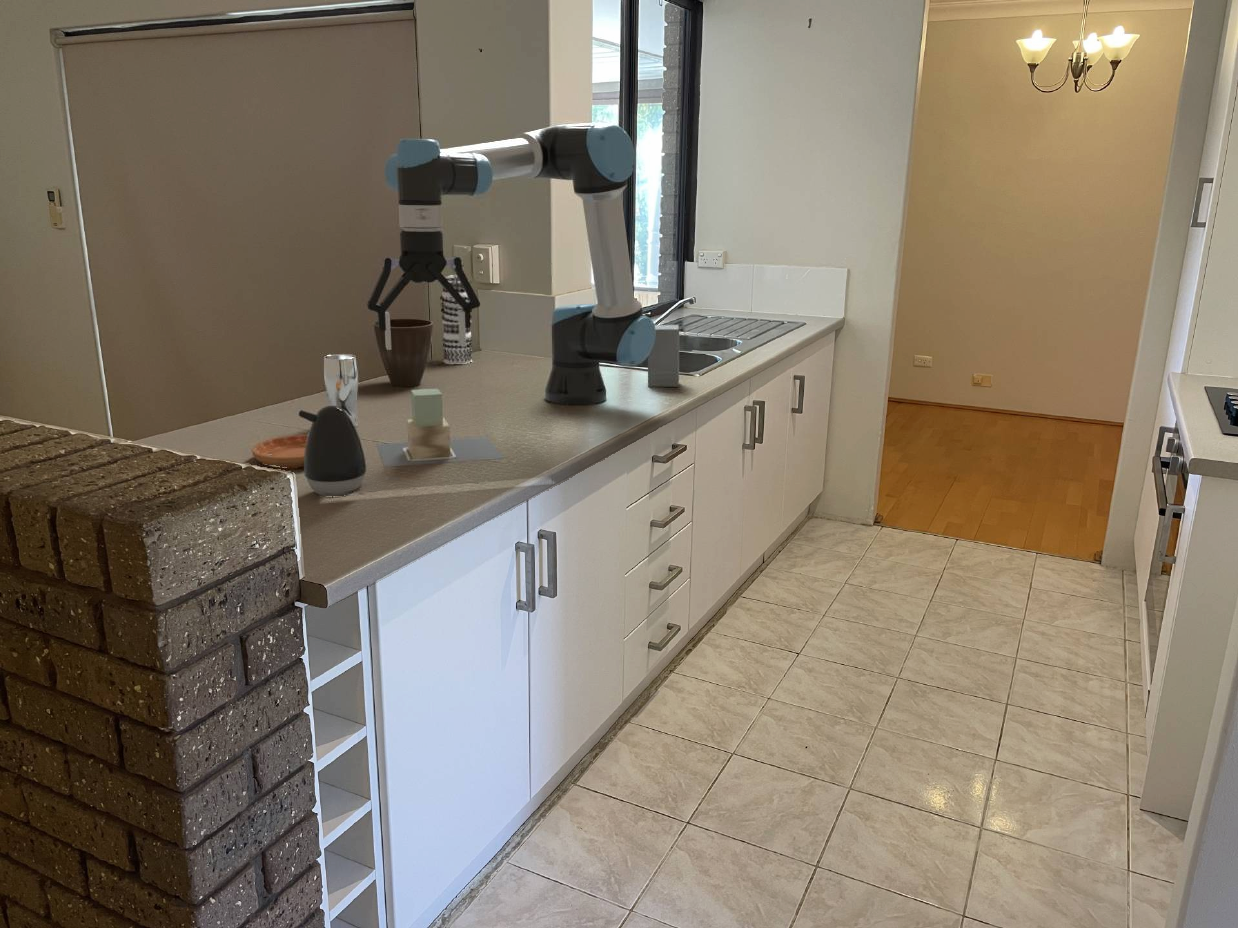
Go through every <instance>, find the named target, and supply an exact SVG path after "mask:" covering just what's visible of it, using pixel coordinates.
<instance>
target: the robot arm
mask: <svg viewBox="0 0 1238 928" xmlns="http://www.w3.org/2000/svg"><path fill="white" fill-rule="evenodd" d="M635 154H636V152H635V147H634V144H633V142H632V139H631V137H630V136H629V134H628V133H627V131H625V130H624V129H623V128H622V127H621V126H619V125H618V124H615V123H614V124H613V123H605V122H588V123H587V122H586V123H572V124H567V123H566V124H565V123H563V124H558V125H553V126H552V125H551V126H547V127H544V128H540V129H535V130H532V131H526V132H519V133H518V134H516V135H515V136H514V137H513V138H510V139H504V140H496V141H490V142H482V143H474V144H469V145H467V144H466V145H460V146H454V147H453V146H452V147H444V148H440V143H439V141H438V140H436V139H429V138H401V139H399V140H398V142H397V143H396V152H395V153H394V154H391V156H389V157H388V158H387V160H386V162H385V165H384V168H383V169H384V170H383V172H384V177H385V181H386V184H387V185H388V186H389V188H390V189H392V191H395V192H397V194H398V198H397V199H398V216H399V217H398V221H399V227H400V228H401V229H402V230H401V231H400V232H399V238H400V239H399V240H400V241H399V243H400V257H399V258H392V257H389V256H385V257H383V259H382V261H383V262H382V270H381V272H380V275H379V277H378V279H377V281H376V283H375V285H374V288H373V290H372V291H371V294H370V297H369V299H368V301H367V303H366V307H367V309H369V310H370V311H372V312H375V313H377V321H378V326H379V329H380V331H385V341H386V348H387V350H391V330H390V319H391V315H390V313H389V311H387V310H388V309H389V308H390V306H391V305H392V303H393V302H394V301H395V300H396V299H397V297H398V296H399V295H400V294H401V293H402V291H403V290H404V289H405V288H406V286H407V285H408V284H409V283H410V282H413V283H415V284H416V283H419V284H420V283H422V282H425V283H433V282H435V281H438V282H439V283H440V285H441V286H442V288H443V287H444V288H445V289H446V290H447V291H448V292H449V294H450V295H451V296H452V297H453V298H454V299H455V300H456V301H457V302H458V304H459V305H460V306H461V307H462V308H463V310H458V318H459V345H460V346H461V347H466V337H465V328H470V329H471V325H472V324H471V323H472V317H470V315H471V313H472V312H471V310H472V311H473V310H474V309H476V308H479V307H480V306H481V302H480V300H479V299H478V296H477V295H476V293H475V291H474V289H473V287H472V285H471V283H470V280H468V277H467V276H466V273H465V271H464V270H463V264H462V259H461V257H459V256H457V255H456V256H453V257H450V258H449V257H447V258H446V257H445V255H444V241H443V240H444V236H443V234H444V233H443V232H442V231H441V230H440V229H441V228H443V214H442V213H443V212H442V196H468V197H469V196H470V197H473V196H479V195H483V194H485V193H486V192H488V191H489V189H490V188H491V186H492V183H493V181H496V180H497V181H498V180H501V179H503V180H504V179H508V178H513V177H514V178H515V177H520V178H522V179H526V180H531V179H532V180H533V179H539V178H540V179H553V180H561V181H562V180H563V181H572V187H573V191H574V194H575V195H576V196H578V197H579V198H581V200H582V207H583V213H584V219H585V227H586V234H587V241H588V246H589V247H588V249H589V253H590V254H589V255H590V261H591V268H592V275H593V283H594V289H595V295H596V302H597V303H583V304H571V305H564V306H558V307H555V308H554V310H553V311H552V316H551V317H552V319H551V357H552V358H551V362H552V363H551V364H552V366H551V370H550V373H549V377H548V378H547V379H548V380H547V382H546V387H545V389H544V398H545V400H546V401H548V402H551V403H555V404H562V405H574V406H575V405H576V406H577V405H582V406H583V405H592V404H597V403H602V402H605V401H606V399H607V388H606V385H605V382H604V378H603V375H602V372H601V367H600V366H601V365H600V362H606V363H611V364H616V365H617V364H618V365H620V366H626V365H627V366H638V365H640V364H642V363H643V362H644V361H646V359H648V355H649V354H650V352H651V349H652V348H653V345H654V341H655V325H656V324H655V323H654V321H653V320H652V319H651V318H650V317H648V316H646V315H644V313H643V305H642V303H641V302H640V301H639V300H638V299H636V298H635V294H634V287H633V279H632V278H633V277H632V271H631V270H632V269H631V262H630V254H629V253H630V252H629V246H628V237H627V231H626V223H625V216H624V215H625V213H624V207H623V197H622V194H623V192H624V190H625V189H626V188H627V186H628V182H627V180H628V178H630V177H631V176H632V173H633V171H634V167H633V166H635V164H636V155H635ZM447 265H448V266H449V268H450V270H452V271H454V273H455V275H457V277H458V279H459V281H460V283H461V285H462V286H463V288H464V290H465V292H466V294H467V296H468V298H469V302H468V303H467V302H466V301H465V300H464V299H463V297H462V296H461V295H460V294H459V293H458V292H457V291H456V290H455V288H454V287H453V286H452V285H451V284H450V283H449V282H448V280H447V279H446V278H445V276H444V275H443V273H442V272H443V271H444V270H445V268H446V266H447ZM397 266H399V267H400V268H401V270H402V271H403V272H404V273H402V274H401V276H400V277H399V279H398V281H397V282H396V283H395V284H394V286H393V287H392V288H391V290H390V291H389V292H388V293H387V295H386V296H385V297H384V298H383V299H382V301H381V302H380V303H379V304H378V302H379V299H380V297H381V295H382V294H383V293H382V292H383V291H384V288H385V286H386V285H387V281H388V279H389V278H390V275H391V272H392V271H394V270H395V269H396V267H397ZM470 312H471V313H470Z"/></svg>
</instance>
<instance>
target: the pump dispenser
mask: <svg viewBox="0 0 1238 928" xmlns="http://www.w3.org/2000/svg"><path fill="white" fill-rule="evenodd" d="M298 416H299V417H300V418H302V419H304V420H306V421H309V422H311V425H310V428H309V431H308V433H307V435H308V436H307V441H306V446H305V453H304V468H303V476H304V477H305V478H306V480H307V483H308V485H309V487H310V488H311V489H312V490H313V491H314V492H315V493H317V494H318V495H320V496H323V497H326V496H332V497H331V498H334V497H333V496H342V497H345V496H344V495H346V496H349V495H351V494H353V493H354V491H355V490H357V489H359V488H360V487H361V485H363V481H364V480H365V474H366V473H367V461H366V456H365V453H364V452H365V451H364V448H363V443H362V441H361V438H360V435H359V432H358V430H357V429H356V427H355V426H354V424H353V422H352V420H351V418H350V417H349V415H348V414H347V413H346V412H345V411H344V410H343V409H342V408H340V407H338V406H330V405H326V406H324V407H322V408H320V409H319V410H318V412H317V413H316V414H315V413H312V412H309V411H305V410H302V409H301V410H299V412H298ZM348 494H349V495H348Z"/></svg>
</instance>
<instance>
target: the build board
mask: <svg viewBox="0 0 1238 928" xmlns="http://www.w3.org/2000/svg"><path fill="white" fill-rule="evenodd" d="M376 446H377V450H378V452H379V454H380V457H381V461H382V463H383V466H384V468H392V467H394V468H395V467H405V466H406V467H407V466H418V465H419V466H421V465H431V464H432V465H433V464H448V463H461V462H474V461H485V460H486V461H487V460H488V461H489V460H499V459H500V460H501V459H504V457H503V455H502V454H501V453H500V452H499V450H498V449H497V448H496V446H495V445H494V444H493V442H492V441H491V440H490V439H489V438H488V436H482V437H479V436H478V437H469V438H467V437H466V438H450V457H440V458H426V459H413V458H412V456H411V454H410V452H409V449H408V441H405V442H391V443H377V444H376Z"/></svg>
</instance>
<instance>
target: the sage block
mask: <svg viewBox="0 0 1238 928" xmlns="http://www.w3.org/2000/svg"><path fill="white" fill-rule="evenodd" d="M410 391H411V392H410V393H411V411H412V413H411V414H412V416H411V417H412V419H413V422H414V424H415V426H416V427H425V426H441V425H443V418H444V415H443V394H442V392H441V391H440V390H439V388H427V389H426V388H424V389H411V390H410Z"/></svg>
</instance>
